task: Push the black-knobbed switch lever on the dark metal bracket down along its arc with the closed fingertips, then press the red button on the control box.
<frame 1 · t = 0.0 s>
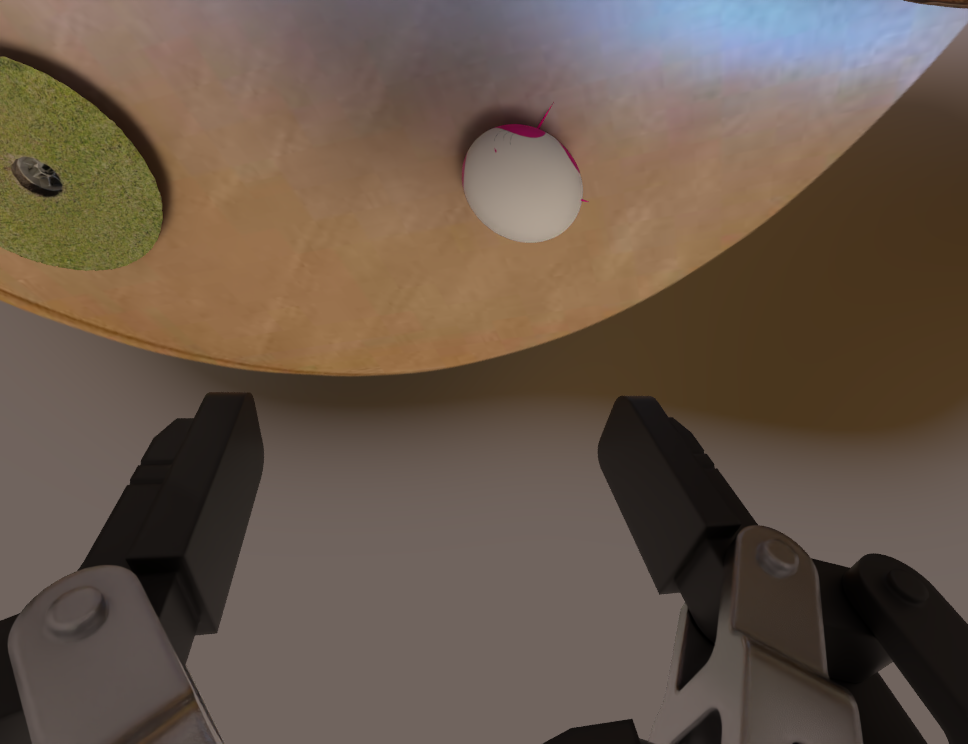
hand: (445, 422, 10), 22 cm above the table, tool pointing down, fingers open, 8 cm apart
mat: (56, 162, 26), on the table
stress ball: (519, 156, 29), on the table
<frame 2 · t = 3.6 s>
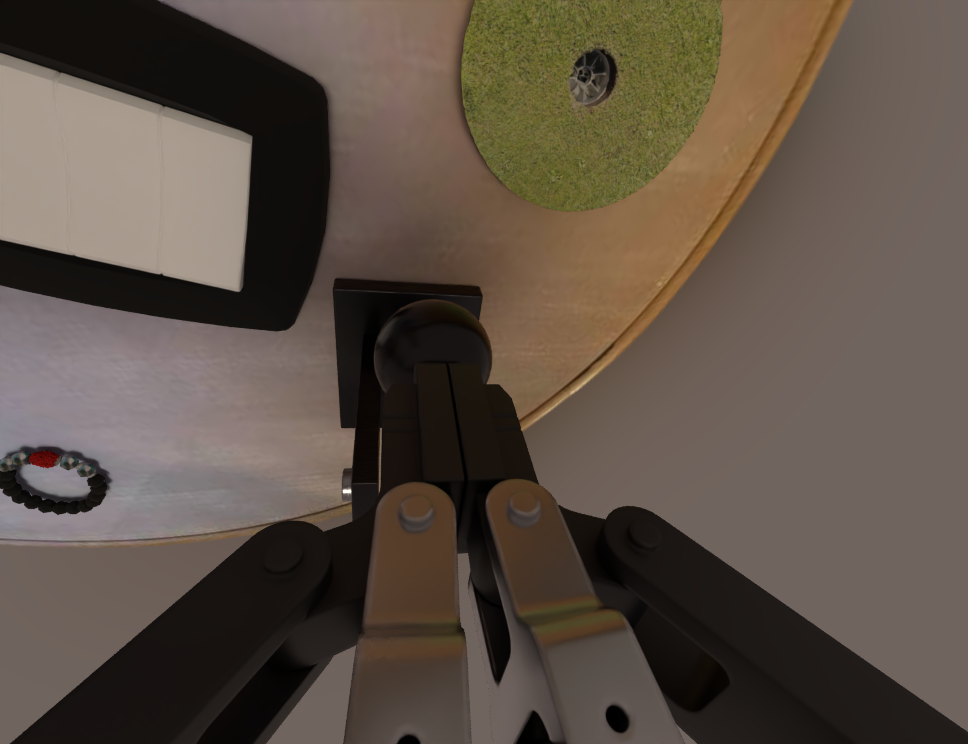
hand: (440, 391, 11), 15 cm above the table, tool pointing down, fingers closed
mat: (577, 73, 21), on the table
switch bracket: (406, 355, 29), on the table
switch lever: (420, 434, 17), point 12 cm above the table, hinge at 20.8°
light switch: (91, 158, 20), on the table
bracelet: (60, 475, 30), on the table
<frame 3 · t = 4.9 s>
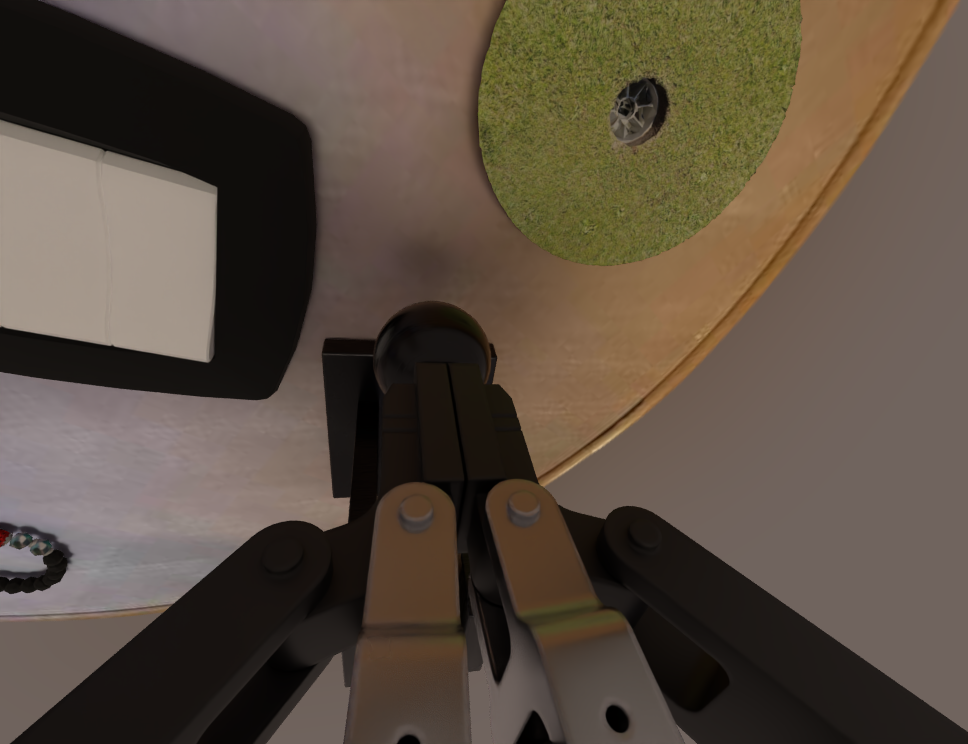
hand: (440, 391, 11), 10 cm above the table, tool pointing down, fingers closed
mat: (616, 103, 18), on the table
switch bracket: (407, 418, 25), on the table
switch lever: (423, 496, 15), point 9 cm above the table, hinge at -9.0°, touching gripper
light switch: (23, 208, 16), on the table
bracelet: (13, 551, 26), on the table
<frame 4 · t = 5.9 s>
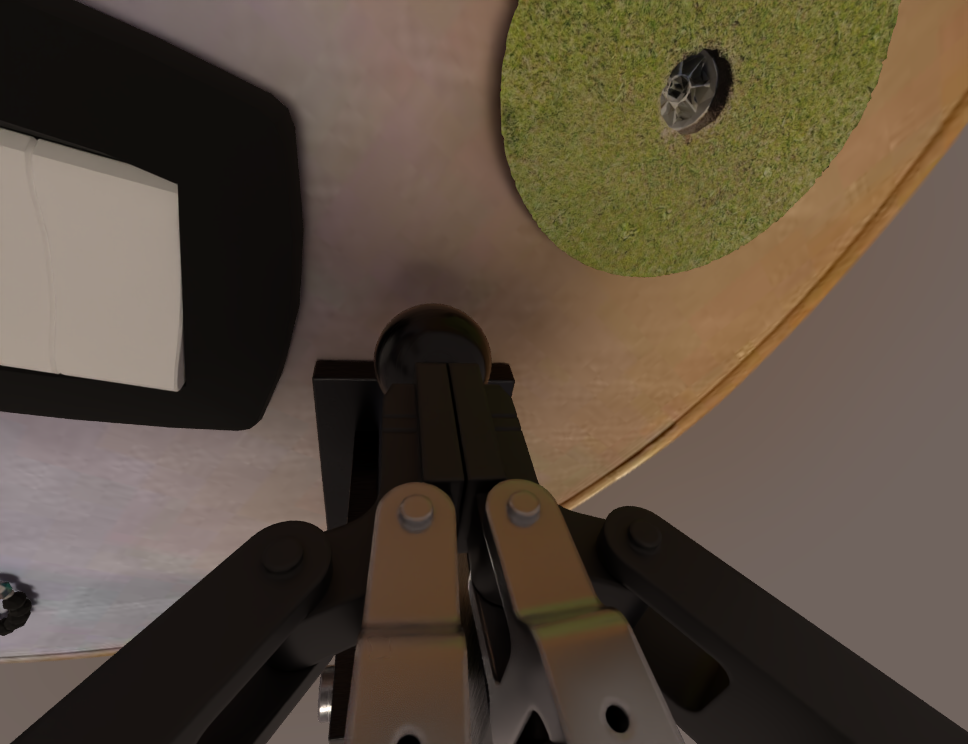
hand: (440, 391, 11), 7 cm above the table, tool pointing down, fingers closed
mat: (663, 84, 15), on the table
switch bracket: (411, 446, 22), on the table
switch lever: (427, 528, 14), point 8 cm above the table, hinge at -27.2°, touching gripper
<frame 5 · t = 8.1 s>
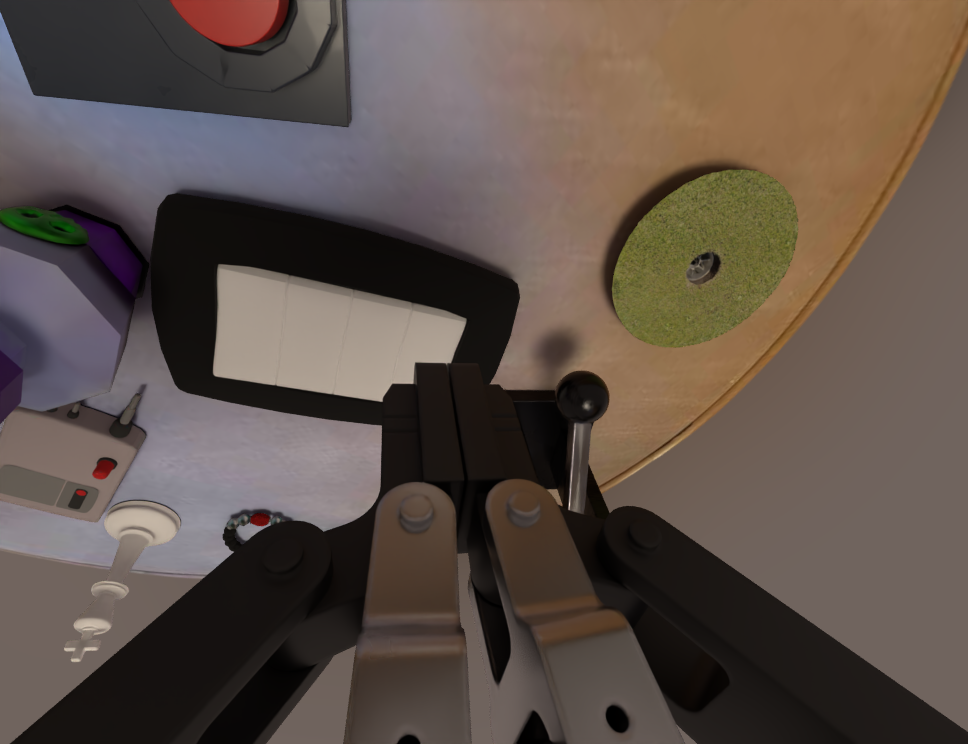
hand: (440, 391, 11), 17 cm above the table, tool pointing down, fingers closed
mat: (687, 255, 29), on the table
remote control: (75, 447, 31), on the table
chess piece: (146, 518, 36), on the table
potion bottle: (89, 258, 24), on the table
switch bracket: (533, 438, 37), on the table
switch lever: (575, 475, 28), point 8 cm above the table, hinge at -27.3°
light switch: (346, 326, 29), on the table
bracelet: (262, 529, 39), on the table
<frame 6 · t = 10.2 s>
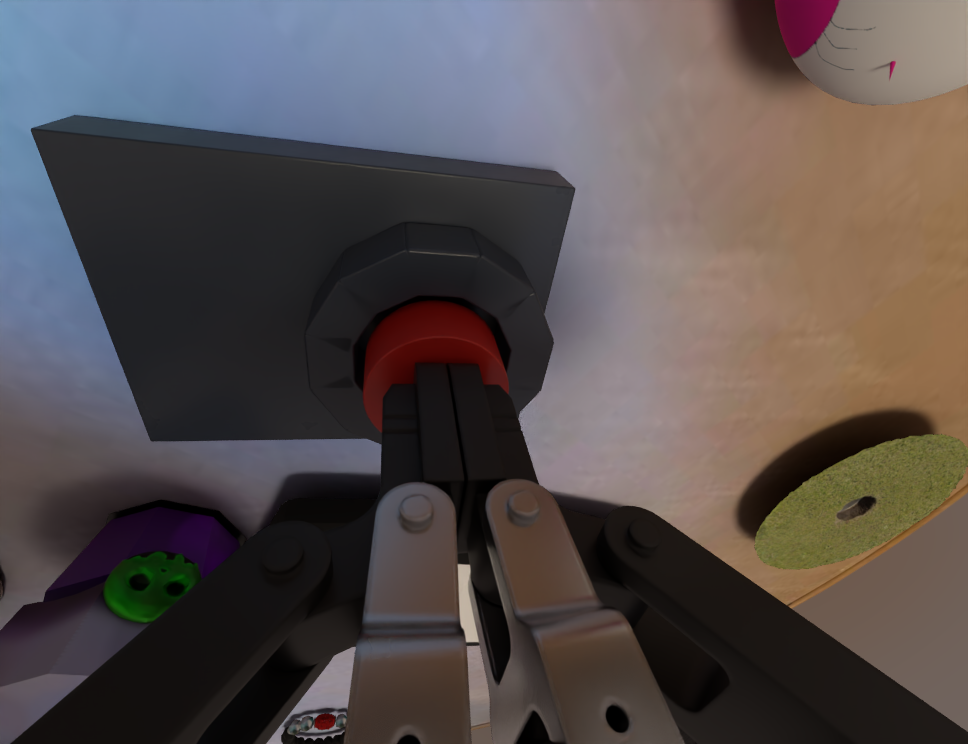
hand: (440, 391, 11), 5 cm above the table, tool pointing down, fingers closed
mat: (829, 480, 26), on the table
control box: (346, 299, 15), on the table
potion bottle: (177, 537, 20), on the table
light switch: (452, 564, 25), on the table
bracelet: (323, 722, 35), on the table
red button: (435, 376, 12), point 4 cm above the table, slide at 0.1 cm, touching gripper
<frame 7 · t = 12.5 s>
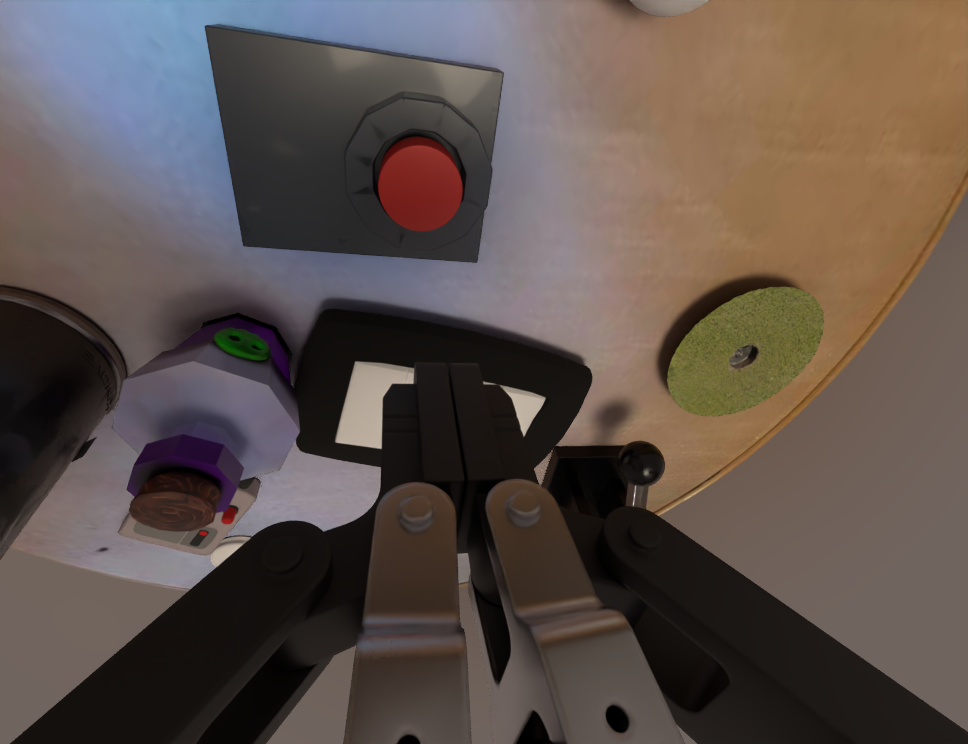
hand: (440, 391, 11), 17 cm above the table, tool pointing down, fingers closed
mat: (728, 341, 35), on the table
remote control: (198, 493, 36), on the table
chess piece: (243, 550, 41), on the table
control box: (366, 156, 23), on the table
potion bottle: (245, 350, 29), on the table
switch bracket: (583, 484, 42), on the table
switch lever: (633, 527, 34), point 8 cm above the table, hinge at -27.3°
light switch: (440, 398, 34), on the table
red button: (420, 184, 21), point 4 cm above the table, slide at 0.1 cm
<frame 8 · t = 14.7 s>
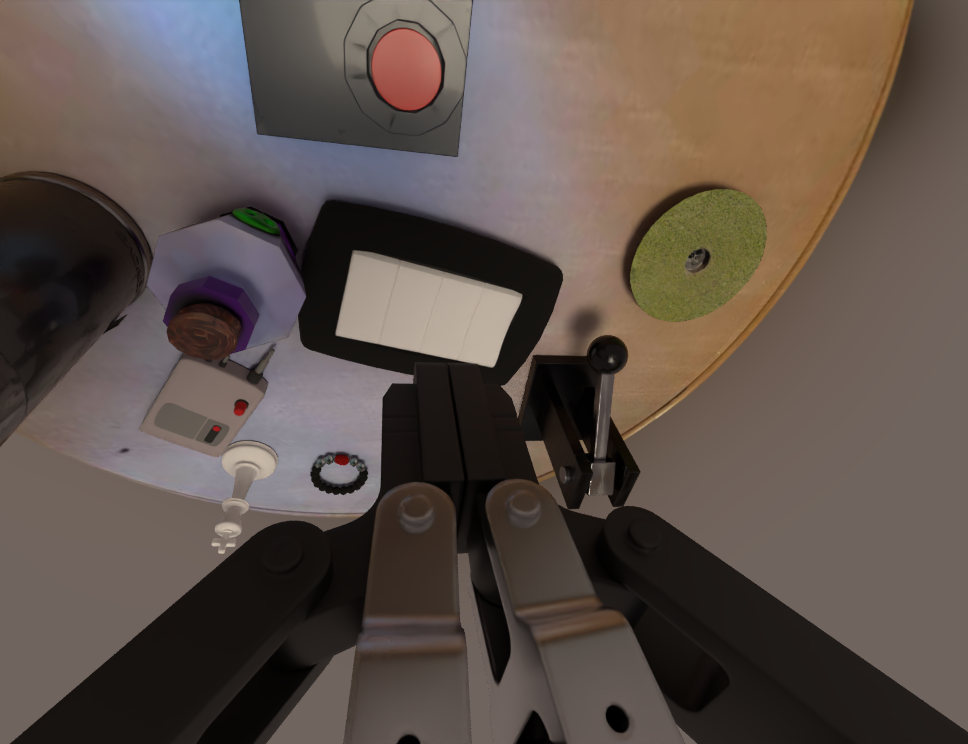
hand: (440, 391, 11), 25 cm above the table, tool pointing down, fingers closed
mat: (685, 251, 39), on the table
remote control: (211, 393, 40), on the table
chess piece: (251, 456, 45), on the table
control box: (361, 57, 27), on the table
potion bottle: (256, 245, 33), on the table
switch bracket: (561, 396, 47), on the table
switch lever: (601, 414, 38), point 8 cm above the table, hinge at -27.3°
light switch: (429, 301, 38), on the table
bracelet: (340, 470, 48), on the table
red button: (406, 69, 25), point 4 cm above the table, slide at 0.1 cm
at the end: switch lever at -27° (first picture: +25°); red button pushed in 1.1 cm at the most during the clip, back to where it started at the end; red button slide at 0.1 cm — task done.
